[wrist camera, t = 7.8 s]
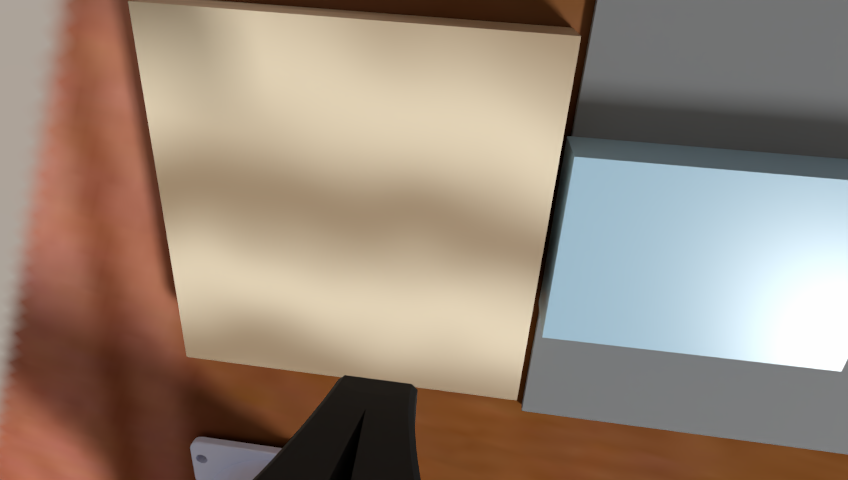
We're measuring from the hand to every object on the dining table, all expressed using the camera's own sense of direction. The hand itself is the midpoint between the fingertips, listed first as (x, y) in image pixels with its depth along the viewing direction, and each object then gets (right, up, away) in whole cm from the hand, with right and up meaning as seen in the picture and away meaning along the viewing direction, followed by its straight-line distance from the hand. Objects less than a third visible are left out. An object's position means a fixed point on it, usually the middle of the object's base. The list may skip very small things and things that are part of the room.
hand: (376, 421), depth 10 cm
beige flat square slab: (-1, +5, +9) cm, 10 cm away
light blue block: (+10, +3, +8) cm, 13 cm away
